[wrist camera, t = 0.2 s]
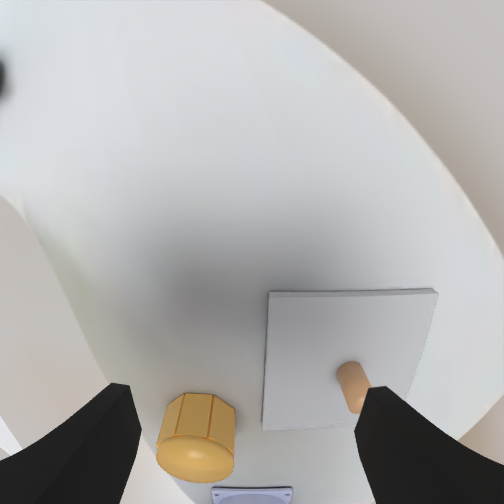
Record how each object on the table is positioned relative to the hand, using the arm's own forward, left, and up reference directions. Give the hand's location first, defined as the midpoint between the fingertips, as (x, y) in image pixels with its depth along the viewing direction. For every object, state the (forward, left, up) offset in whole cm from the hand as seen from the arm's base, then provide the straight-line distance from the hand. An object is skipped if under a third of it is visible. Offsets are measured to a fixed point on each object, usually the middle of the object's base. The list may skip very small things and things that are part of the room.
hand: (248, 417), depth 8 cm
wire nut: (-11, +3, -10) cm, 15 cm away
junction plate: (-6, -7, -10) cm, 13 cm away
